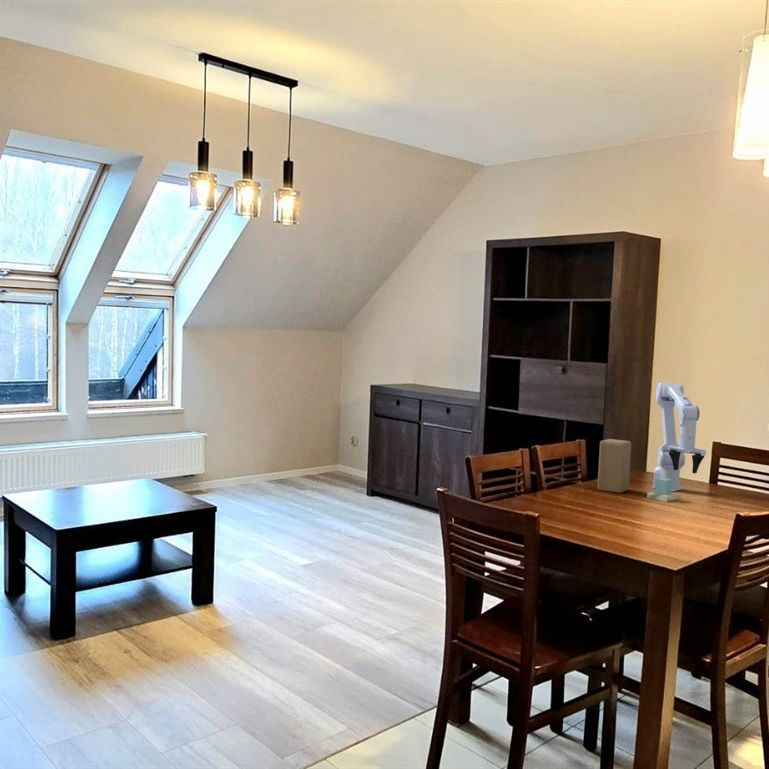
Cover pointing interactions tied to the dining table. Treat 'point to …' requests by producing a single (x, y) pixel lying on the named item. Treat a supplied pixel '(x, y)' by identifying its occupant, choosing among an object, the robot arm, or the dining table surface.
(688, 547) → the dining table surface
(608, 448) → the wooden block
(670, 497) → the cream block
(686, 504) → the dining table surface
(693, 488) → the dining table surface
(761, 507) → the dining table surface
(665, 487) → the teal block
